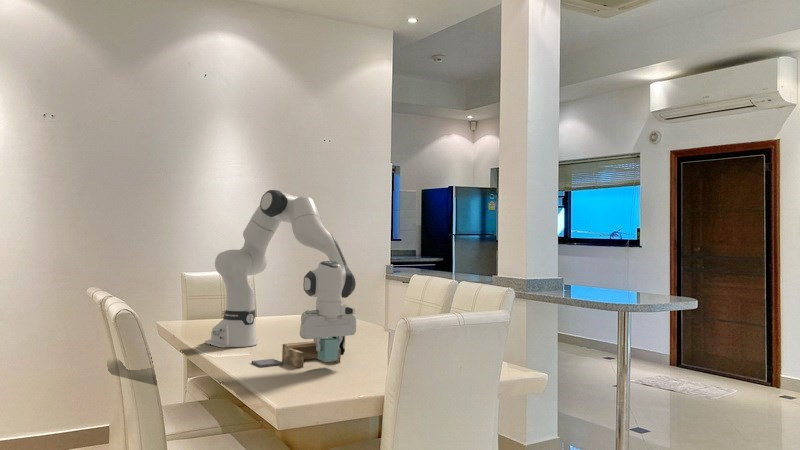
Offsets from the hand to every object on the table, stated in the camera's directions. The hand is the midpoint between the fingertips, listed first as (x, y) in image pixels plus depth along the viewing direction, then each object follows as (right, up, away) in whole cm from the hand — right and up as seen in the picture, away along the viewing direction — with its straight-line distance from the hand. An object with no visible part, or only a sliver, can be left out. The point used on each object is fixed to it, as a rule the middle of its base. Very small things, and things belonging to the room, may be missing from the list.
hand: (327, 350), depth 198 cm
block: (0, -3, 0) cm, 3 cm away
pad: (-22, -6, +5) cm, 23 cm away
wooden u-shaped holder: (-7, -6, +9) cm, 13 cm away
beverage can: (0, -7, +26) cm, 27 cm away
